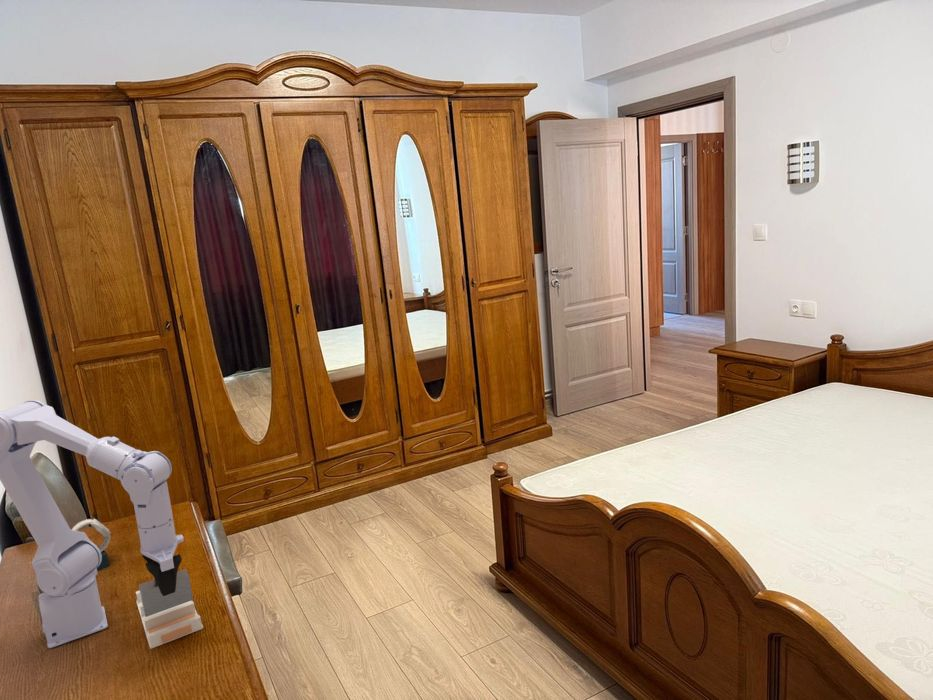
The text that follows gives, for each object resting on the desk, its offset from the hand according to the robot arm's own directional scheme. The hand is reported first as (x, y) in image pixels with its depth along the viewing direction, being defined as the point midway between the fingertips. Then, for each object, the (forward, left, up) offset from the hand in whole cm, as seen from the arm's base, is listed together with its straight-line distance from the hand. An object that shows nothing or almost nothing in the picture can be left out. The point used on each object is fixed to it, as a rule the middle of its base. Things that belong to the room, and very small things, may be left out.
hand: (167, 588), depth 113 cm
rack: (0, +6, -8) cm, 10 cm away
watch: (-10, +37, -9) cm, 39 cm away
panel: (0, 0, -3) cm, 3 cm away
